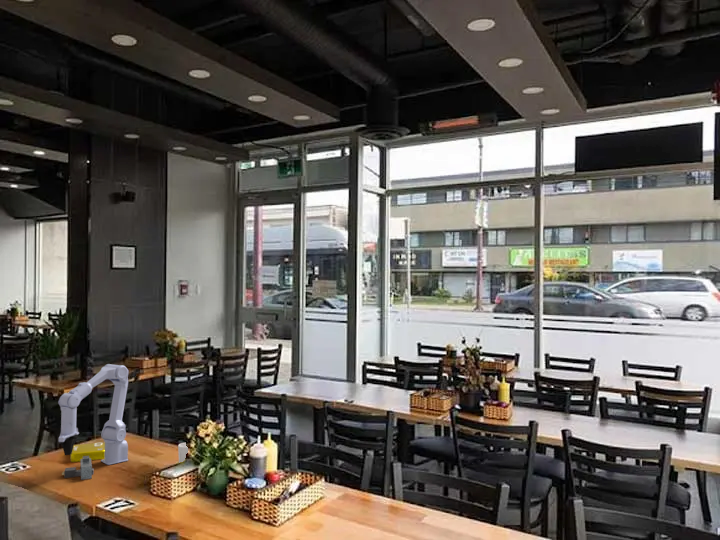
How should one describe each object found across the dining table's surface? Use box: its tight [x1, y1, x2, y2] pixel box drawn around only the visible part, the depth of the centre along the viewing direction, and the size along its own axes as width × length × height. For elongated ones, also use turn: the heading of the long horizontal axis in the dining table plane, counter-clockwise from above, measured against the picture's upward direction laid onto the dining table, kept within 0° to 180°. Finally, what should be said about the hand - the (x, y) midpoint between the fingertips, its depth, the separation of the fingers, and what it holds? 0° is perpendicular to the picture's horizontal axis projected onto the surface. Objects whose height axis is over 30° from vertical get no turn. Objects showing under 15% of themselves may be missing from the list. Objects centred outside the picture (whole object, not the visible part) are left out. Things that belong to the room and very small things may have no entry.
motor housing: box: [79, 456, 93, 481], centre depth 249 cm, size 4×12×6 cm, turn 27°
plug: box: [61, 466, 95, 479], centre depth 249 cm, size 12×4×3 cm, turn 110°
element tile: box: [69, 441, 105, 463], centre depth 275 cm, size 15×15×5 cm
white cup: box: [177, 442, 188, 464], centre depth 262 cm, size 8×8×10 cm
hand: (68, 454), depth 246 cm, fingers closed
